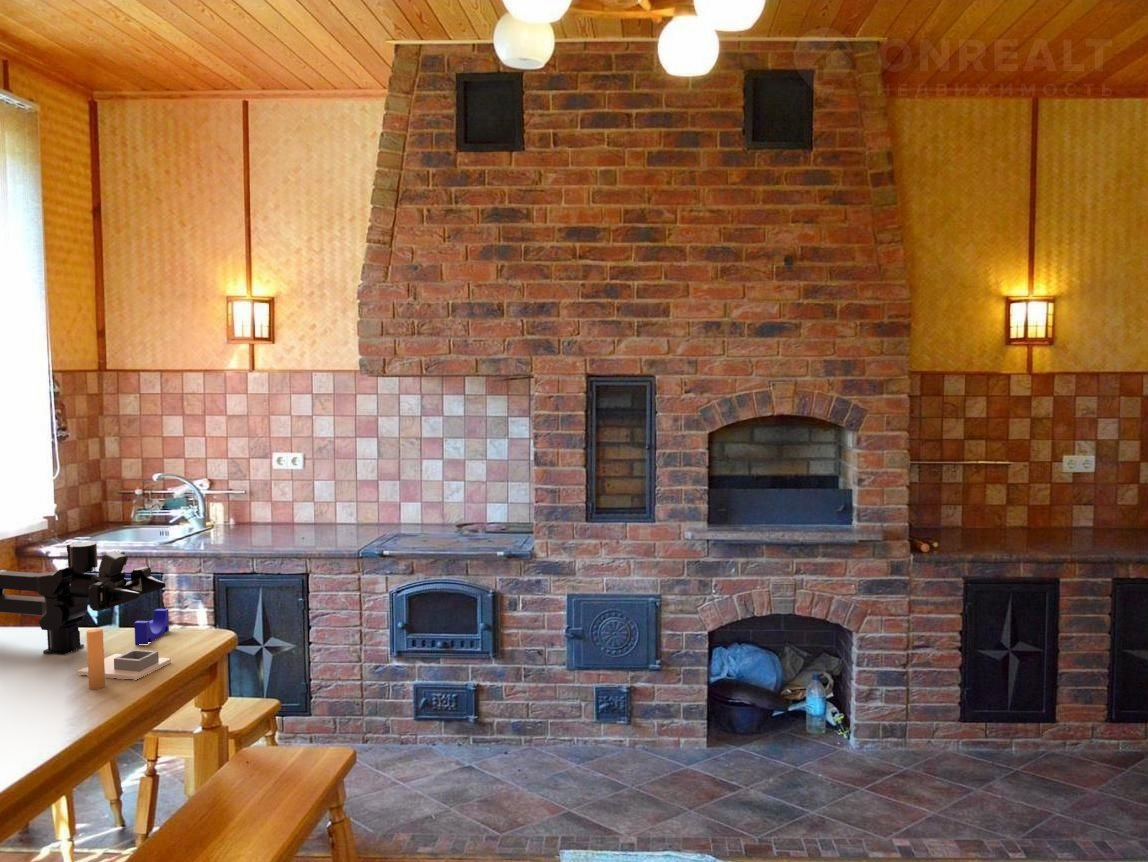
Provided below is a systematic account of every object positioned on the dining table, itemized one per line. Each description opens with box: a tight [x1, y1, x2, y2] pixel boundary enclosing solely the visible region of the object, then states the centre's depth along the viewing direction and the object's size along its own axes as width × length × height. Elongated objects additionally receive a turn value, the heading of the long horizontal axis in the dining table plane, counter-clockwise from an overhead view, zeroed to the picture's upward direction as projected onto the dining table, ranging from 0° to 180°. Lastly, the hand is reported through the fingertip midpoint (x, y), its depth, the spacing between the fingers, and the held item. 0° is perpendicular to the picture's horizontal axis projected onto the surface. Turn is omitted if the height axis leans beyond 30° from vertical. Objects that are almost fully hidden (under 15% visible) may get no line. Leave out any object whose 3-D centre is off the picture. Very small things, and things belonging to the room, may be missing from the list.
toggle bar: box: [85, 628, 106, 690], centre depth 202 cm, size 3×3×12 cm
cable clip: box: [133, 608, 170, 646], centre depth 236 cm, size 12×4×6 cm, turn 179°
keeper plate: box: [77, 648, 172, 681], centre depth 214 cm, size 15×12×4 cm
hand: (152, 590), depth 220 cm, fingers open, 9 cm apart
